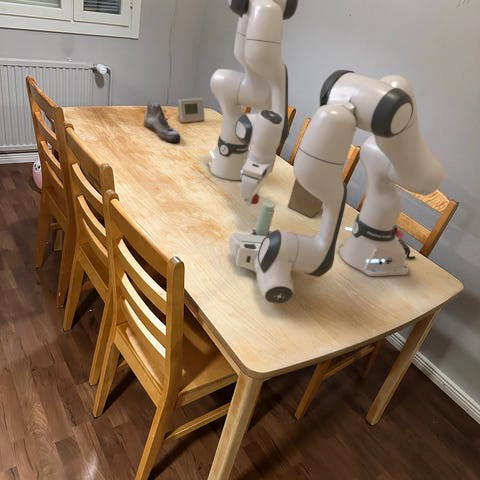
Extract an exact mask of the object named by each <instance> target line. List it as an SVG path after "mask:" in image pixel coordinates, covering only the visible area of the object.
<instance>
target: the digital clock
mask: <svg viewBox="0 0 480 480" xmlns="http://www.w3.org/2000/svg"><path fill="white" fill-rule="evenodd" d="M177 109H178V110H177V112H178V120H179V123H187V124H188V123H196V122H197V123H198V122H200V121H204V120H205V118H206V117H205V106H204V98H203V97H187V98H182V99H178V100H177Z"/></svg>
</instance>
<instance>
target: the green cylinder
mask: <svg viewBox="0 0 480 480" xmlns="http://www.w3.org/2000/svg"><path fill="white" fill-rule="evenodd" d="M274 213H275V203H274V202H271V201H269V200H265V201H264V202H262V204H261V207H260V209H259V213H258V218H257V221H256V225H255V231H256V233H255V235H259V236H267V235H268V232H269V231H270V227H271V224H272V221H273V217H274Z"/></svg>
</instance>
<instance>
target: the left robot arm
mask: <svg viewBox="0 0 480 480" xmlns="http://www.w3.org/2000/svg"><path fill="white" fill-rule="evenodd" d="M227 3H228V7H229V9H230V10H231V12H232V13H234V14H235V15H238V20H237V26H236V32H235V40H234V45H233V46H234V47H233V56H234V59H236V61H237V62H238V63H239V64H240V65H241V66H242V68H243V70H244V72H241V71H238V70H235V69H231V68H230V69H229V68H218V69H216V70H215V71H214V72H213V74H212V75H211V78H210V80H209V88H210V90H211V93H212V95H213V96H214V97H215V98H216V100H217V103H218V105H219V108H220V110H221V117H222V118H221V120H222V121H221V127H220V135H219V136H218V139H217V145H216V146H215V147H214V149H213V151H212V150H210V151H209V154H210V155H211V160H209V161H208V164H207V165H208V166H209V170H210V172H211V173H212V174H213V175H215V176H216V177H218V178H220V179H225V180H229V181H241V184H240V190H239V196H240V198H241V199H242V200H244V199H246V201H245V206H247V207H250V206H252V205H253V204H252V201H253V200H252V198H253V197H254V195H255V194H257V195H258V196H259V194H260V193H259V192H260V191H261V189H262V188H263V186H264V185H265V184H266V183H267V182H268V179H269V177H270V176H269V175H270V174H272V173H273V170H274V166H275V164H276V158H277V150H278V148H279V147H280V146H282V145H283V144H284V143H285V142H286V141H287V139H288V138H289V136H290V132H291V131H290V120H289V73H288V72H289V71H288V68H287V65H286V64H285V63H284V61H283V56H282V43H283V32H284V21H286V20H289V19H291V18H292V17H293V16H295V14H296V11H297V9H298V7H299V0H227ZM242 106H243V107H247V108H249V109H253V110H256V111H257V110H258V111H259V112H257V113H245V112H244V111H243V109H242ZM270 109H271V110H270Z"/></svg>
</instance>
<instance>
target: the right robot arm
mask: <svg viewBox="0 0 480 480" xmlns="http://www.w3.org/2000/svg"><path fill="white" fill-rule="evenodd" d="M418 115H419V113H418V105H417V100H416V96H415V93H414V89H413V87H412V84H411V82H410V81H409V80H408V79H407V78H406V77H405V76H402V75H399V74H389V75H385V76H383V77H381V78H379V79H378V78H377V77H371V76H368V75H364V74H362V73H361V74H360V73H357V72H355V71H353V70H350V69H349V70H347V69H337V70H335V71H333V72H332V73H331V74H329V76H328V77H327V78H326V79H324V82H323V84H322V86H321V88H320V92H319V108H317V110H315V112H314V113H313V116H312V117H311V119H310V120H309V123H308V125H307V126H306V128H305V131H304V133H303V135H302V137H301V140H300V142H299V145H298V148H297V151H296V153H295V157H294V161H293V167H292V169H293V174H294V176H295V177H294V178H295V179H297V180H298V182H299V183H300V184H301V185H302V187H303V188H305V189H306V190H307V191H308V192H309V193H311V194H312V195H314V196H315V197H317V198H318V199H319V200H321V201H322V202H323V211H322V215H321V218H320V224H319V227H318V233H317V234H315V235H307V234H301V233H296V232H292V231H287V230H281V229H275V230H269V232H268V235H267V236H259V235H255V233H256V231H255V229H256V228H255V229H254V228H250V229H249V233H238V232H233V233H232V234H230V236H229V242H228V243H229V245H228V246H229V250H230V252H231V254H232V257H234V259H235V264H236V266H238V267H240V268H244V269H247V270H250V271H252V272H254V273H255V275H256V281H257V285H258V288H259V291H260V293H261V295H262V297H263V299H264V300H265V301H266V302H268V303H271V304H284V303H287V302H288V301H290V300H292V298H293V296H294V285H293V279H292V275H291V272H296V273H300V274H301V273H302V274H305V275H308V276H312V277H315V278H320V277H322V276H324V275H325V274H327V273H328V272H329V271H330V270H331V269H332V268H333V266H334V263H335V256H336V247H337V242H338V237H339V233H340V229H341V226H342V222H343V218H344V213H345V209H346V205H347V199H348V186H347V184H346V182H345V181H344V180H343V171H344V166H345V164H346V161H347V159H348V157H349V155H350V152H351V148H352V145H353V140H354V136H355V133H356V132H357V130H358V129H359V130H362V131H365V132H368V133H371V134H372V135H370V136H369V137H367V138H366V139H365V140H364V141H363V143H362V144H361V146H360V149H359V160H360V163H361V165H362V166H363V169H364V173H365V179H366V190H365V191H366V192H365V197H364V200H363V202H362V205H361V208H360V211H359V213H358V214H357V216H356V217H355V220H354V222H353V225H352V227H347V226H345V228H344V230H346V231H351V232H350V234H349V235H348V237H347V239H346V241H345V242H344V243H343V245H342V246H341V247H340V249H339V250H338V251H339V252H338V253H339V256H340V257H341V259H342V260H343V261H344V262H345V263H346V264H348V265H349V266H350V267H353V268H355V269H357V270H359V271H361V272H363V273H364V274H365V275H367V276H369V277H382V276H385V277H386V276H399V275H408V273H409V266H408V263H407V262H406V259H408V260H412V259H416V256H415V255H413V256H410V254H411V248H410V246H408V244H407V243H406V242H405V241H404V240H403V239H401V238H403V237H404V232H403V231H402V230H401V229H398V228H399V227H398V226H397V225H396V224H397V222H398V220H399V217H400V215H401V212H402V210H403V206H404V205H403V199H402V197H401V196H400V194H399V193H398V191H397V186H398V187H400V188H401V189H404V190H406V191H407V192H409V193H412V194H416V195H421V196H423V197H425V196H428V195H431V194H433V193H435V192H436V191H437V190H438V189H440V187H441V186H442V185H443V182H444V181H445V176H446V169H445V166H444V165H443V164H442V163H441V162H440V161H439V160H438V158H437V157H436V156H435V155H434V153H432V151H431V150H430V149H429V147H428V145H427V143H426V141H425V140H424V137H423V135H422V134H421V131H420V130H421V129H420V125H419V116H418Z"/></svg>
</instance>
